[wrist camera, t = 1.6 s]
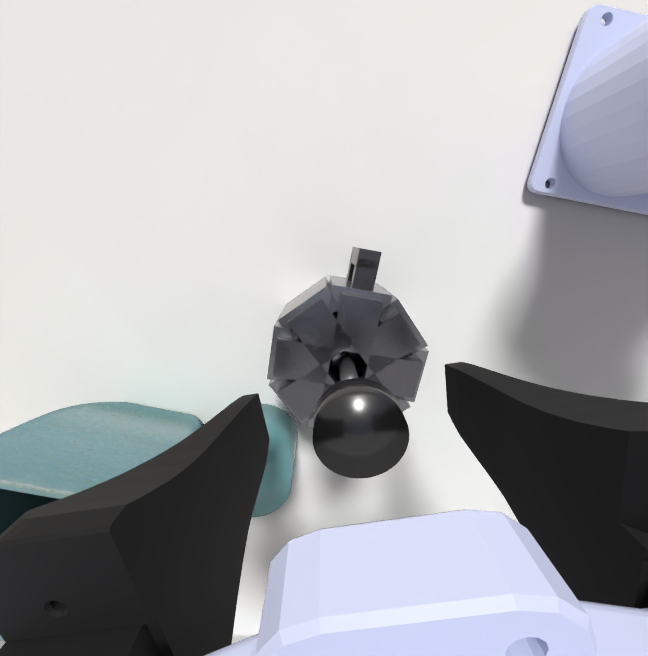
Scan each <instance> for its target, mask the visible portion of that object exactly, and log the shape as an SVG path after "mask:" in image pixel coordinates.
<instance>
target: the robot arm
mask: <svg viewBox="0 0 648 656" xmlns="http://www.w3.org/2000/svg"><path fill="white" fill-rule="evenodd" d="M601 18H603V19H604V20H605V26H603V25H602V23H601ZM546 180H549V182H550V186H549V188H546V186H545V182H546ZM527 187H528V189H529V191H530V192H533V193H537V194H542V195H547V196H552V197H557V198H562V199H567V200H572V201H578V202H583V203H588V204H593V205H598V206H603V207H608V208H613V209H619V210H624V211H629V212H634V213H639V214H644V215H648V15H646V14H641V13H637V12H633V11H628V10H624V9H620V8H615V7H611V6H607V5H602V4H595V5H593V6H592V7H590V8H589V9H588V10H587V11H586V12H585V13H584V14H583V15H582V17H581V19H580V22H579V25H578V28H577V31H576V34H575V37H574V41H573V44H572V47H571V50H570V53H569V56H568V59H567V62H566V65H565V68H564V71H563V74H562V77H561V80H560V83H559V86H558V90H557V93H556V96H555V99H554V102H553V105H552V108H551V111H550V114H549V117H548V120H547V123H546V126H545V129H544V132H543V136H542V139H541V142H540V145H539V148H538V151H537V154H536V157H535V160H534V163H533V166H532V169H531V172H530V175H529V178H528V182H527ZM445 376H446V392H447V407H448V414H449V415H450V417H451V419H452V421H453V423H454V425H455V427H456V429H457V431H458V433H459V434H460V436H461V437H462V439H463V440H464V441H465V443H466V444H467V446H468V447H469V448H470V450H471V451H472V453H473V454H474V455H475V457H476V458H477V459H478V461H479V462H480V463H481V465H482V466H483V468H484V469H485V470H486V472H487V473H488V474H489V476H490V477H491V479H492V480H493V481H494V483H495V484H496V485H497V487H498V488H499V490H500V491H501V493H502V494H503V496H504V497H505V499H506V501H507V503H508V504H509V506H510V508H511V509H512V511H513V513H514V514H515V516H516V518H517V520H518V521H519V523H520V524H519V523H518V522H516V521H515V520H513V519H512V518H510V517H508V516H507V515H505V514H504V513H502V512H491V511H478V510H458V511H450V512H443V513H435V514H428V515H420V516H413V517H406V518H398V519H391V520H383V521H376V522H368V523H361V524H354V525H346V526H339V527H331V528H324V529H319V530H317V531H314V532H311V533H308V534H306V535H303V536H300V537H297V538H294V539H292V540H290V541H288V543H287V544H286V545H285V546H284V547H283V548H282V549H281V551H280V552H279V553H278V554H277V555H276V556H275V557H274V558H273V560H272V561H271V562H270V568H269V574H268V580H267V586H266V592H265V598H264V604H263V610H262V617H261V623H260V629H259V633H258V634H256V635H253V636H251V637H249V638H246V639H244V640H241V641H239V642H237V643H234V644H231V642H232V635H233V627H234V619H235V612H236V604H237V596H238V590H239V583H240V577H241V570H242V563H243V558H244V552H245V546H246V540H247V534H248V530H249V525H250V521H251V517H252V513H253V510H254V506H255V503H256V499H257V496H258V492H259V488H260V485H261V481H262V478H263V474H264V470H265V466H266V463H267V456H268V449H269V440H270V438H269V434H268V430H267V426H266V422H265V418H264V414H263V410H262V406H261V402H260V398H259V394H251V395H245V396H242V397H240V398H238V399H237V400H236V401H234V402H233V403H232V404H230V405H229V406H228V407H226V408H225V409H224V410H223V411H221V412H220V413H219V414H217V415H216V416H215V417H214V418H212V419H211V420H210V421H208V422H207V423H206V424H204V425H203V426H201V427H200V428H199V429H197V430H196V431H195V432H193V433H192V434H190V435H189V436H188V437H186V438H185V439H183V440H182V441H180V442H179V443H177V444H175V445H174V446H172V447H171V448H169V449H167V450H166V451H164V452H162V453H161V454H159V455H157V456H155V457H153V458H152V459H150V460H148V461H146V462H144V463H142V464H140V465H138V466H136V467H134V468H132V469H130V470H128V471H126V472H124V473H122V474H120V475H118V476H116V477H113V478H111V479H109V480H107V481H105V482H102V483H100V484H97V485H95V486H93V487H90V488H88V489H85V490H83V491H80V492H78V493H75V494H73V495H70V496H67V497H64V498H62V499H59V500H56V501H53V502H51V503H48V504H45V505H42V506H40V507H37V508H34V509H31V510H28V511H27V512H25V513H24V514H23V515H22V516H21V517H20V518H18V519H17V520H16V521H15V522H14V523H13V524H12V525H11V526H10V527H9V528H8V529H6V530H5V531H4V532H3V533H2V534H1V535H0V635H1V637H2V638H3V640H4V641H5V642H6V643H5V644H4V645H3V646H2V648H1V649H0V656H648V403H646V402H636V401H626V400H618V399H611V398H604V397H597V396H590V395H584V394H578V393H573V392H568V391H563V390H559V389H554V388H549V387H545V386H541V385H538V384H534V383H530V382H527V381H523V380H520V379H516V378H513V377H510V376H506V375H503V374H500V373H497V372H494V371H491V370H488V369H485V368H482V367H479V366H475V365H472V364H469V363H464V362H458V363H451V364H445Z"/></svg>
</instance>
